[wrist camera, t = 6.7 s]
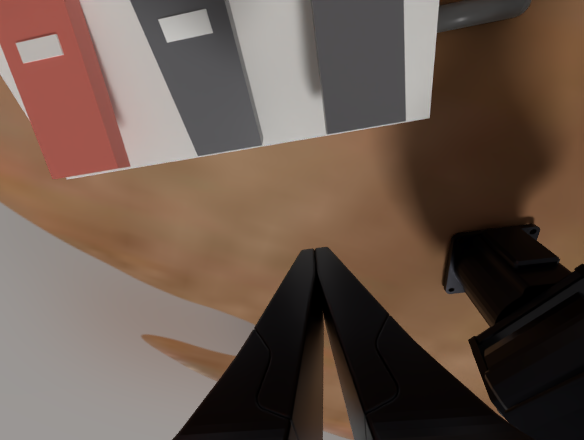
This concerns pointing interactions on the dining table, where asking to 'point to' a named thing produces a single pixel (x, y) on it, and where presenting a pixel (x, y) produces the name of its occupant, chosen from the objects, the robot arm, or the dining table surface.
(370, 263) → the dining table surface
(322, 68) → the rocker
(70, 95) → the rocker red
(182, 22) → the rocker middle
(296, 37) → the power strip
